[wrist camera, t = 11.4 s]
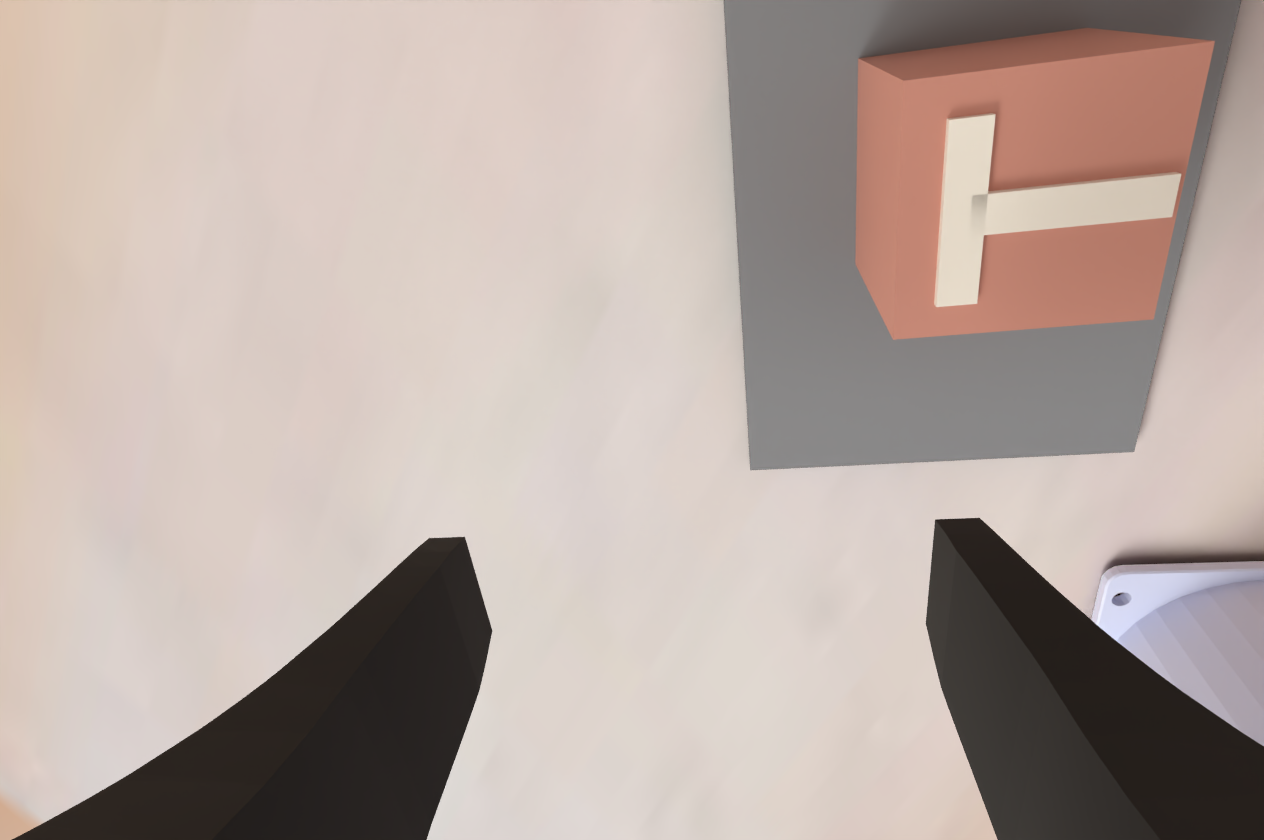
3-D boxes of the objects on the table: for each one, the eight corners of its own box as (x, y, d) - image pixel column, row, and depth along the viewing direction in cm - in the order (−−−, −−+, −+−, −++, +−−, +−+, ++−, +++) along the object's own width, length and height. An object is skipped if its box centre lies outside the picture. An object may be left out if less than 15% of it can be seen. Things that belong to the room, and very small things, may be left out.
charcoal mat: (1126, 443, 20) (1134, 451, 20) (749, 462, 22) (750, 470, 21) (1317, -383, 12) (1334, -394, 12) (709, -266, 14) (708, -273, 13)
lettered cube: (1056, 245, 17) (1158, 323, 13) (855, 264, 18) (894, 342, 14) (1087, 27, 15) (1221, 41, 11) (858, 58, 16) (905, 81, 12)
